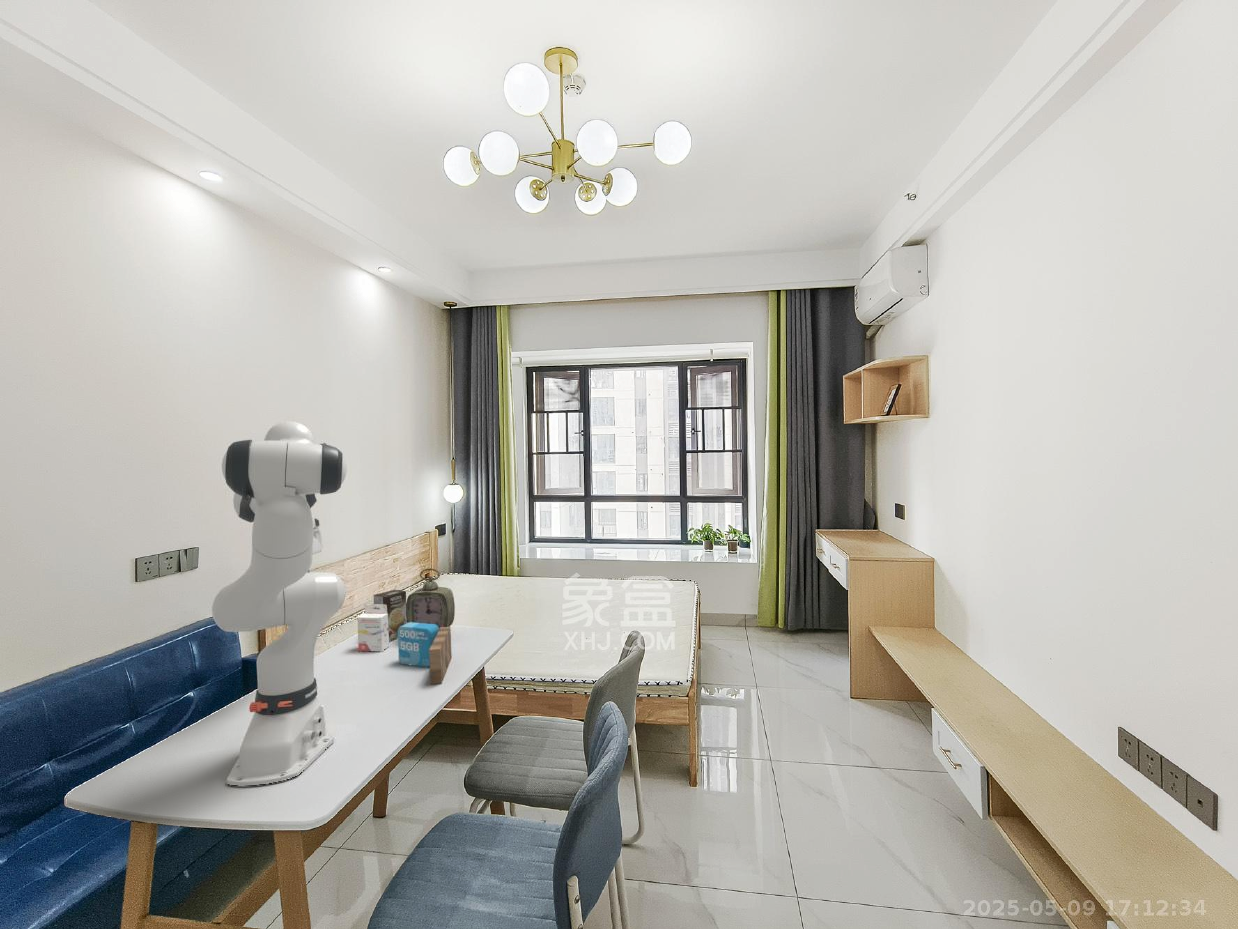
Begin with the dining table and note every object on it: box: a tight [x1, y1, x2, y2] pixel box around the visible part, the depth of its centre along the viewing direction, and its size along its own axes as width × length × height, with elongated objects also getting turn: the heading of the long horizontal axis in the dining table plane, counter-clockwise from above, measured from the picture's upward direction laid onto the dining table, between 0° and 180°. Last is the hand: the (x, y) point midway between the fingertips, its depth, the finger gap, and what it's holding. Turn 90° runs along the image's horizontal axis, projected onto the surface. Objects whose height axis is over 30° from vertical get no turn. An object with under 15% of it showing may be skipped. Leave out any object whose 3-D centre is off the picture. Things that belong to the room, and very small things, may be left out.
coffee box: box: [372, 589, 407, 642], centre depth 204 cm, size 9×6×16 cm
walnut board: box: [429, 626, 453, 685], centre depth 173 cm, size 20×3×10 cm, turn 8°
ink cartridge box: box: [357, 603, 390, 652], centre depth 193 cm, size 9×5×15 cm, turn 84°
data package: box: [397, 622, 439, 668], centre depth 180 cm, size 12×4×12 cm, turn 72°
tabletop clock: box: [406, 567, 456, 630], centre depth 201 cm, size 14×9×25 cm, turn 88°
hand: (305, 574), depth 161 cm, fingers closed
